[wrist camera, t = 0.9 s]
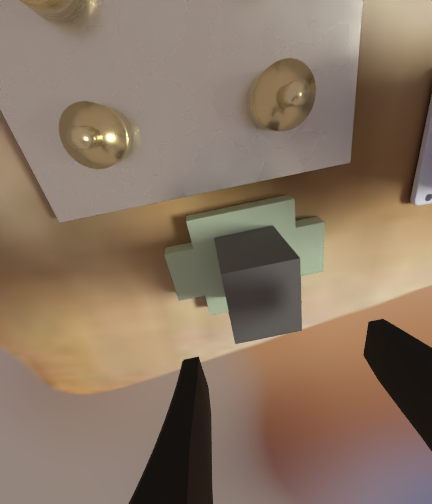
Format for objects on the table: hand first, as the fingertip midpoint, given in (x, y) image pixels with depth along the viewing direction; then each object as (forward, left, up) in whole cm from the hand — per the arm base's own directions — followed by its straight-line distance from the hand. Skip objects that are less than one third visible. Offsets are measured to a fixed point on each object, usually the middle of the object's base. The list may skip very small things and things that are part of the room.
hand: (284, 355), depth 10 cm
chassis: (+2, -13, -9) cm, 15 cm away
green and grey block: (0, 0, -9) cm, 9 cm away
